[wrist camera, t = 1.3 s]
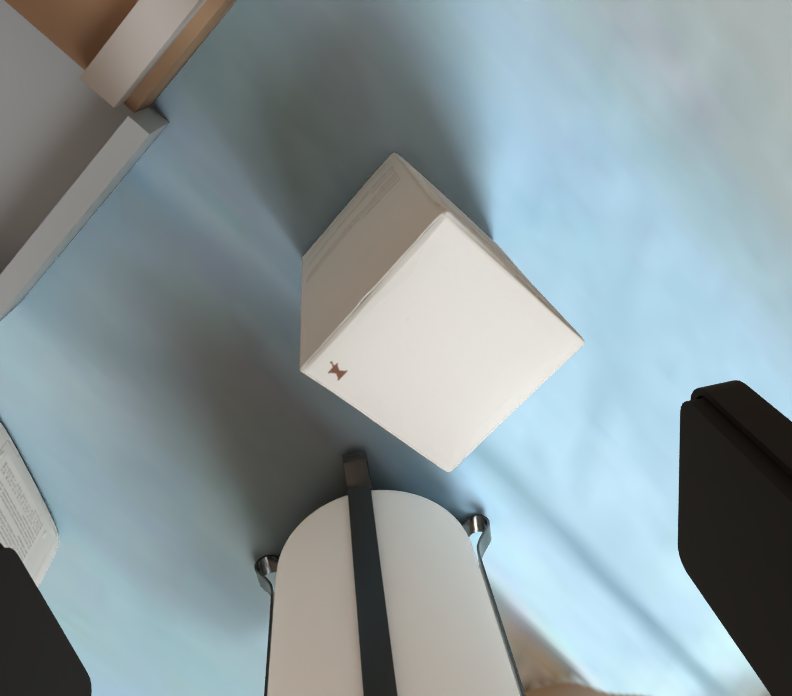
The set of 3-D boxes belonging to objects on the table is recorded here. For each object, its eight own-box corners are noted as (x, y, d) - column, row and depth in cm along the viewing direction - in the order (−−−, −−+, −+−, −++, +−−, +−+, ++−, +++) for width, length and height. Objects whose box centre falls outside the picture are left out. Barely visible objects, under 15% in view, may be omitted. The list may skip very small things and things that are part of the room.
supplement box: (403, 341, 36) (445, 483, 25) (297, 256, 33) (290, 371, 22) (499, 242, 34) (593, 346, 23) (396, 144, 31) (444, 205, 20)
